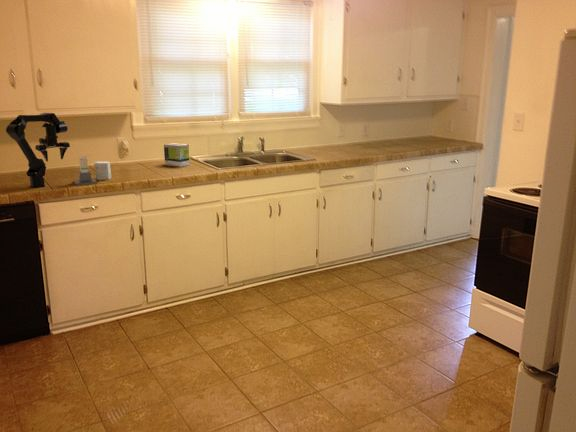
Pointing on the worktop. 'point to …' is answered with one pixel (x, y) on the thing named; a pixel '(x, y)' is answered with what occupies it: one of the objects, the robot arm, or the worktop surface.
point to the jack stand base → (85, 179)
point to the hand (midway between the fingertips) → (54, 160)
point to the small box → (102, 170)
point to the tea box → (176, 154)
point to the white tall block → (83, 164)
